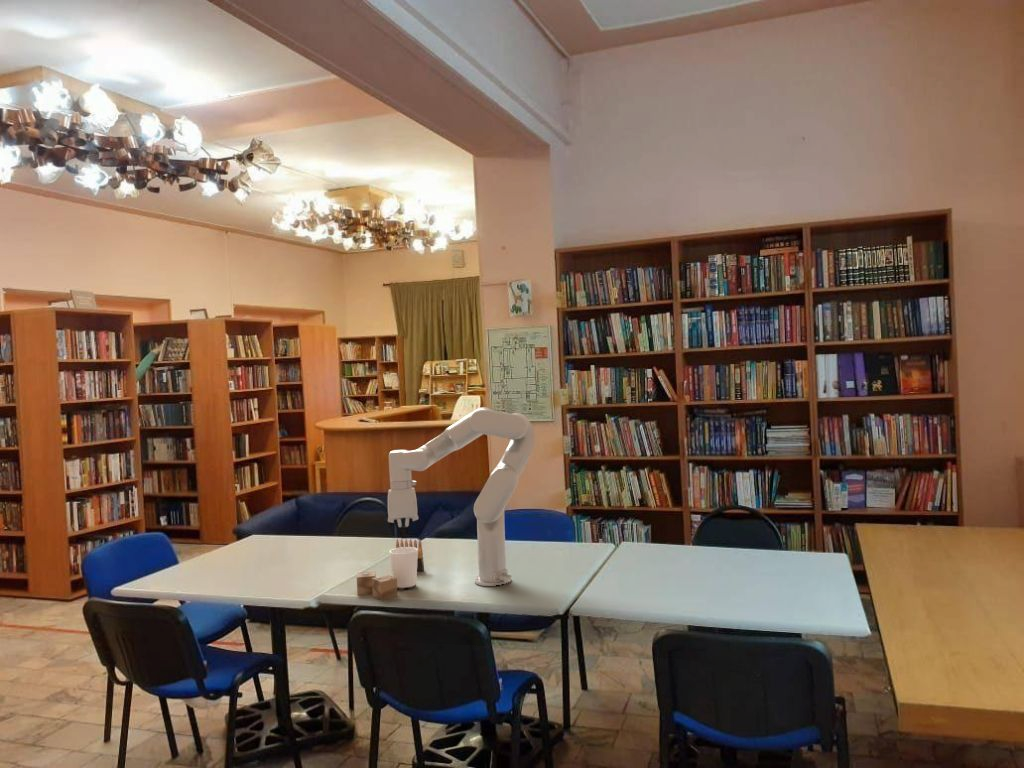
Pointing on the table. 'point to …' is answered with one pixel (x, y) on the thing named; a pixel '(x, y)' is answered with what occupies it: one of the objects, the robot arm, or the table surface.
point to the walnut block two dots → (384, 587)
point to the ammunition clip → (420, 554)
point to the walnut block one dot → (365, 582)
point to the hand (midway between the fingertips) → (404, 537)
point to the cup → (404, 566)
